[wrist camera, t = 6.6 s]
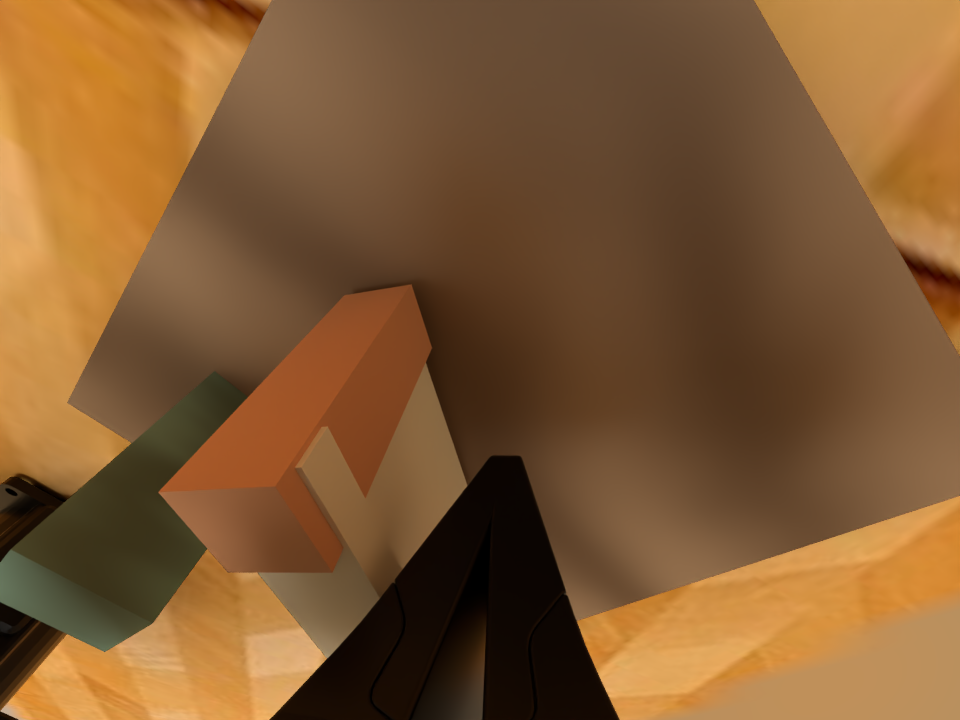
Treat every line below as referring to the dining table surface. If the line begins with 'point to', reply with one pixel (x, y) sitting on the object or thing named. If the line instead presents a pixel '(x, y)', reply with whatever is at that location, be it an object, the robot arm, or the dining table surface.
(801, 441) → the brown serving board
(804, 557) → the dining table surface
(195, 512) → the orange and cream block
